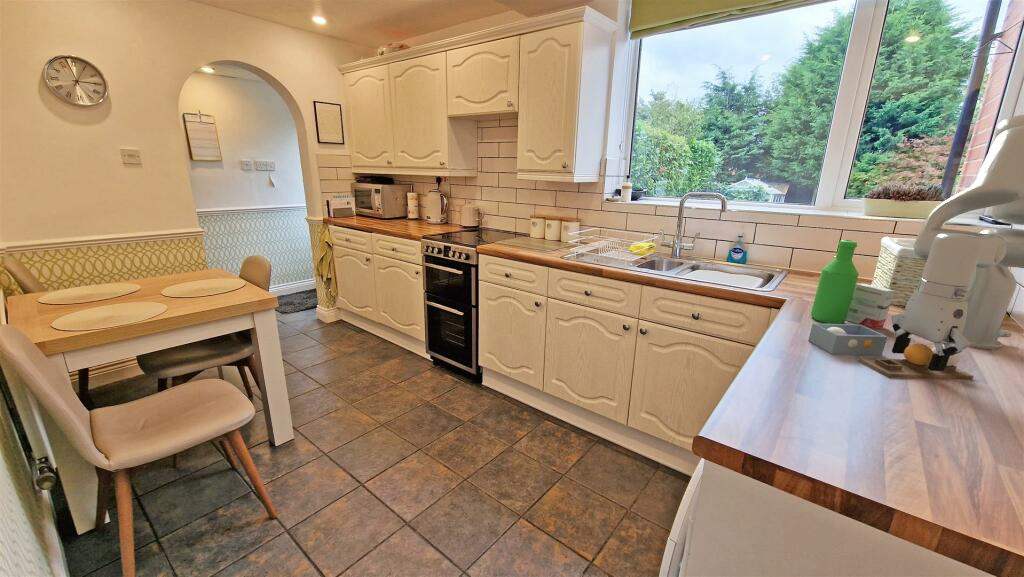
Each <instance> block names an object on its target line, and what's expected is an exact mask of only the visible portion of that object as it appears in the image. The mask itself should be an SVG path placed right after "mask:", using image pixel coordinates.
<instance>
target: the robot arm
mask: <svg viewBox="0 0 1024 577" xmlns="http://www.w3.org/2000/svg"><path fill="white" fill-rule="evenodd" d="M994 136H995V140H994V141H993V143H992V145H991V147H990V149H989V150H988V153H987V154H986V156H985V158H984V160H983V161H982V164H981V165H980V167H979V170H978V172H977V174H976V176H975V177H974V179H973V181H972V183H971V185H970V186H969V187H968V188H967V189H964V190H963V191H960V192H959V193H956V194H954V195H952V196H951V197H949V198H947V199H945V201H943V202H941V203H939V205H937V206H936V207H935V208H934V209H933V210H932V211H931V212H930V213H929V214H928V216H927V217H926V219H925V220H924V223H923V225H922V226H921V228H920V230H919V233H917V236H916V238H915V239H916V241H915V244H914V247H913V248H914V252H915V254H916V255H917V256H918V257H920V258H923V259H927V262H926V265H925V268H924V271H923V274H922V277H921V279H920V282H919V285H918V288H917V290H915V291H914V293H913V294H912V296H911V297H910V299H909V301H908V303H907V305H906V306H904V307H905V308H904V310H903V311H902V313H899V314H894V315H891V317H890V319H891V323H892V330H893V331H894V333H893V336H894V337H895V340H894V342H893V346H892V349H891V353H893V354H903V355H904V351H905V349H906V348H907V347H908V346H909V345H911V344H910V343H911V339H912V338H911V337H910V336H912V335H913V336H915V337H918V338H922V339H924V340H926V341H928V342H930V343H933V345H934V347H935V348H936V351H937V354H935V353H934V354H933V356H932V358H931V361H930V364H929V367H928V369H929V370H931V371H944V370H945V367H946V365H947V362H948V360H949V357H950V356H954V355H955V354H957V353H962V352H963V351H964V350H966V349H968V348H969V347H972V348H978V349H984V350H1000V349H1002V346H1003V343H1002V342H1000V341H999V340H998V339H999V338H1010V337H1012V331H1011V330H1005V329H1001V327H1002V324H1003V321H1004V318H1005V316H1006V313H1007V311H1008V308H1009V307H1010V303H1011V301H1012V298H1013V296H1014V293H1015V292H1016V289H1017V280H1016V277H1015V275H1014V274H1013V273H1012V271H1011V270H1010V269H1009V268H1018V269H1019V268H1020V269H1024V229H1018V228H1008V227H992V228H986V229H983V230H981V231H980V232H975V231H968V230H959V229H951V228H950V229H949V228H943V227H944V225H945V224H946V223H947V222H949V221H950V220H951V219H953V218H955V217H958V216H959V215H963V214H965V213H969V212H972V211H977V210H981V209H986V208H991V207H992V208H991V217H992V219H993V220H995V221H996V222H1000V223H1003V224H1010V225H1019V226H1020V225H1021V226H1024V114H1019V115H1014V116H1011V117H1007V118H1004V119H1003V120H1002V121H1000V122H999V123H998V125H997V127H996V130H995V135H994ZM943 344H944V347H945V349H944V348H943Z"/></svg>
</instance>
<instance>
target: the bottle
mask: <svg viewBox="0 0 1024 577" xmlns="http://www.w3.org/2000/svg"><path fill="white" fill-rule="evenodd" d="M857 247H858V242H857V241H855V240H851V239H850V240H849V239H841V240H840V241H839V242H838V249H837V252H836V254H835V255H836V258H834V259H833V260H831V261H830V262H829V263H828V264H827V265H825V266H824V267H823V268H822V270H821V273H820V277H819V280H818V285H817V289H816V292H815V296H814V300H813V303H812V308H811V311H810V316H811V317H812V318H813V319H814V320H816V321H819V322H821V323H823V324H844V323H845V322H846V321H847V320H846V317H847V314H848V311H849V307H850V304H851V300H852V297H853V293H854V289H855V286H856V284H857V281H858V277H859V275H860V274H859V272H858V270H857V268H856V266H855V264H854V262H853V260H852V258H853V259H854V253H855V251H856V250H855V249H856V248H857Z"/></svg>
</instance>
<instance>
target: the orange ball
mask: <svg viewBox="0 0 1024 577" xmlns="http://www.w3.org/2000/svg"><path fill="white" fill-rule="evenodd" d="M932 349H933V348H931V347H929V346H928V345H926V344H923V343H913V344H909V346H908V347H907V348H906V349H905V351H904V354H903V356H904V358H905V359H906V360H907V361H909V362H910V363H912V364H914V365H927V364H929V363H930V361H931V358H932V356H933V354H934V353H933V351H932Z"/></svg>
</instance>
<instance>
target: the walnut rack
mask: <svg viewBox="0 0 1024 577" xmlns="http://www.w3.org/2000/svg"><path fill="white" fill-rule="evenodd" d="M858 362H859V363H861V364H863V365H864V366H866V367H868V368H870V369H871V370H873V371H876V372H878V373H879V374H881V375H883V376H885V377H887V378H901V379H903V378H905V379H906V378H909V379H911V378H912V379H951V380H954V379H957V380H973V379H974V375H972V374H970V373H968V372H966V371H963V370H961V369H959V368H957V366H956V365H952V366H946V367H945V370H944V371H931V370H929V369H928V367H929V364H930V363H929V364H927V365H914V364H912V363H910V362H909V361H907V360H906V358H905V359H903V358H870V357H869V358H868V357H867V358H866V357H865V358H863V357H859V358H858Z"/></svg>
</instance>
